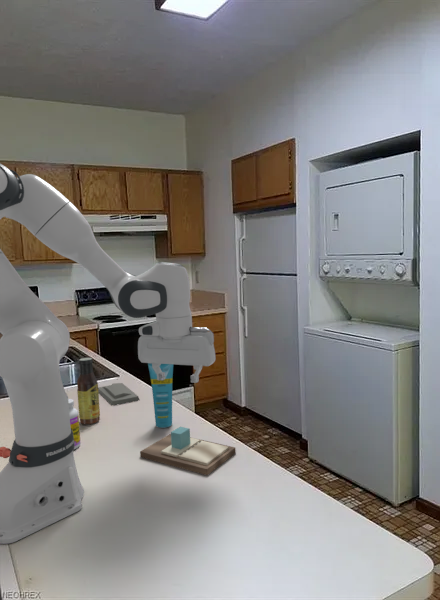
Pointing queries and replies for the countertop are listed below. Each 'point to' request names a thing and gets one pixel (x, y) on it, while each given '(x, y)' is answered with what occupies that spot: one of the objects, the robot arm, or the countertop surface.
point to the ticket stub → (180, 442)
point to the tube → (162, 395)
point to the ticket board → (191, 455)
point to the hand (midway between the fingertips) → (177, 380)
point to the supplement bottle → (74, 423)
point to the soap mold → (117, 394)
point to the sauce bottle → (88, 393)
